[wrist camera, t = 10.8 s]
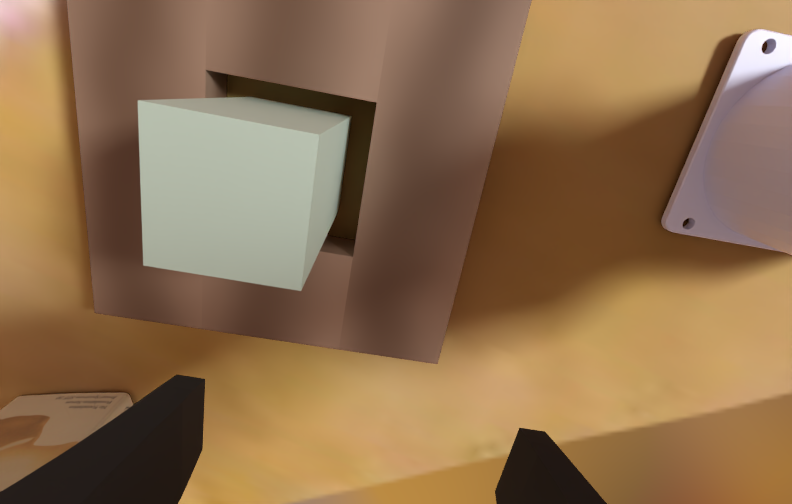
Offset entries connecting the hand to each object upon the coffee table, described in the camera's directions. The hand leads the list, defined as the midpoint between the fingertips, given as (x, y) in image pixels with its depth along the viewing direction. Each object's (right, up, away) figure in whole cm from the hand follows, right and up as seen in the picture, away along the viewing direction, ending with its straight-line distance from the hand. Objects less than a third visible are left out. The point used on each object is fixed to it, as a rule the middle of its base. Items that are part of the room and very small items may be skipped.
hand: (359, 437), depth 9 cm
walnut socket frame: (-3, +8, +8) cm, 12 cm away
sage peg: (-3, +8, +8) cm, 12 cm away
